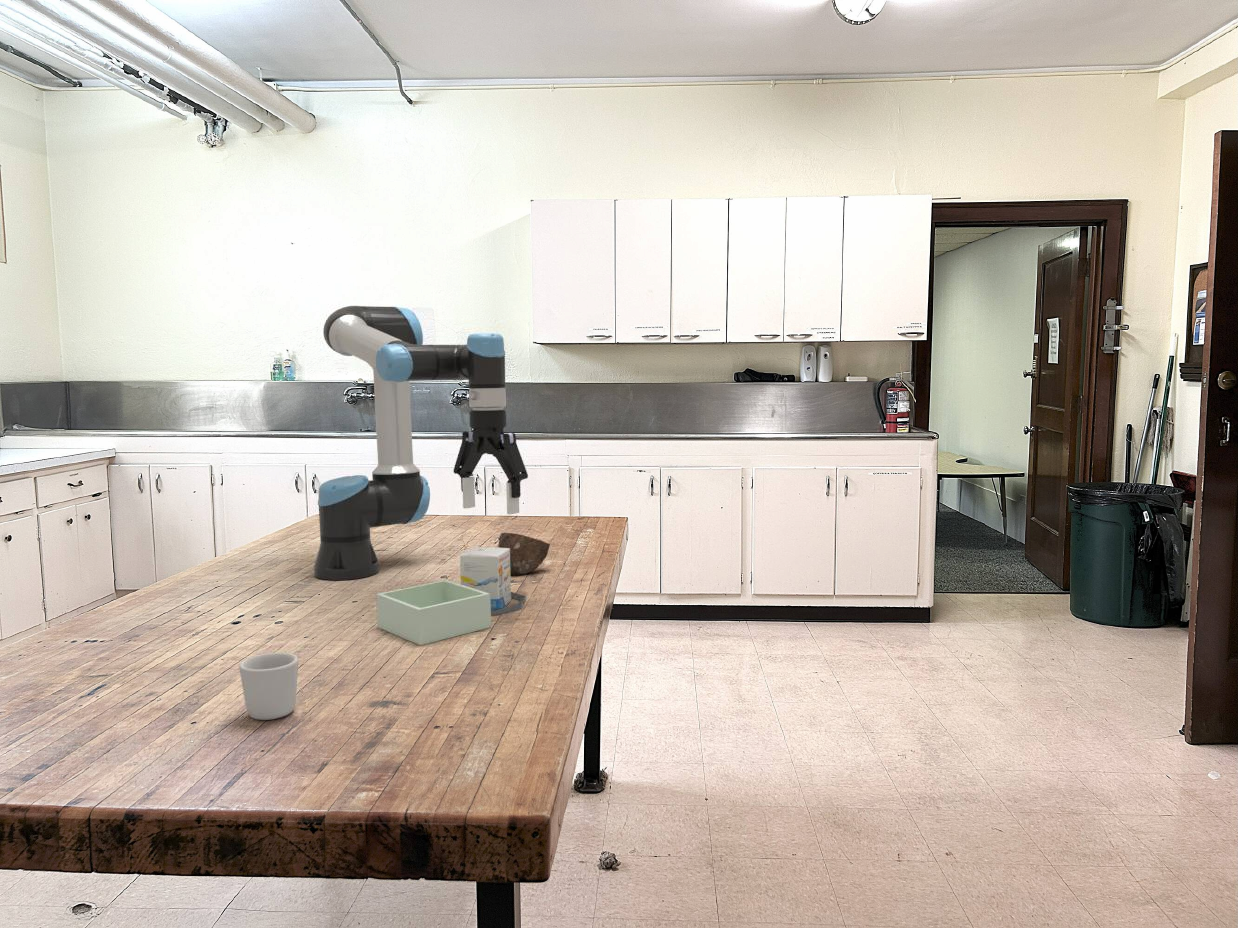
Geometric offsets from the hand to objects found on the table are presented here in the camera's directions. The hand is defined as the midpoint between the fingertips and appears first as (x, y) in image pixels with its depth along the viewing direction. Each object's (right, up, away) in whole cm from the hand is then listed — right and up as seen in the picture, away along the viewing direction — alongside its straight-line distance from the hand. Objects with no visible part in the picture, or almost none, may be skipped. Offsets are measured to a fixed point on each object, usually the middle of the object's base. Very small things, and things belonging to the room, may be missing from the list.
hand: (490, 510), depth 185 cm
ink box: (-1, -20, +2) cm, 20 cm away
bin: (-9, -22, -14) cm, 27 cm away
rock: (+3, -17, +30) cm, 35 cm away
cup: (-24, -27, -54) cm, 65 cm away
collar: (-1, -20, +2) cm, 20 cm away
